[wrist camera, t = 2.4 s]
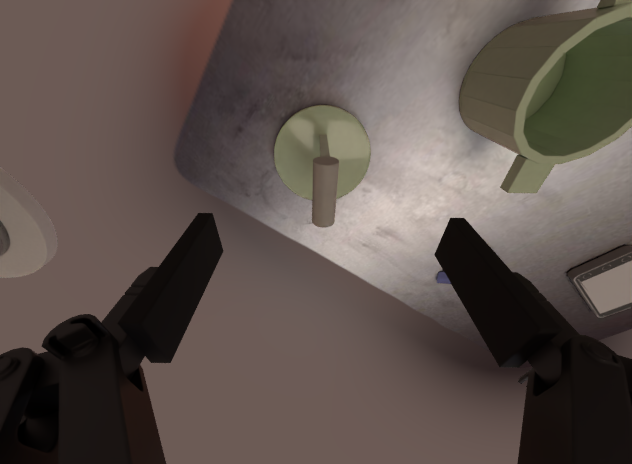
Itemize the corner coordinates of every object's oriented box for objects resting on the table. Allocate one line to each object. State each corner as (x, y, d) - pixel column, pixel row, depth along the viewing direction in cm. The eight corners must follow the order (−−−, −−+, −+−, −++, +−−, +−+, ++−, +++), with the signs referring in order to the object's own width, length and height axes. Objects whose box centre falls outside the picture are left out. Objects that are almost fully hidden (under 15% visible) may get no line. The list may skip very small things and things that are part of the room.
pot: (436, 161, 25) (475, 196, 19) (502, -37, 16) (611, -88, 10) (516, 162, 25) (580, 198, 19) (622, -33, 16) (800, -82, 10)
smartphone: (638, 248, 30) (656, 298, 36) (629, 243, 31) (648, 292, 37) (572, 278, 34) (599, 318, 40) (565, 272, 34) (593, 313, 41)
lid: (278, 195, 27) (265, 248, 20) (271, 102, 21) (248, 127, 14) (361, 197, 27) (378, 249, 20) (376, 104, 21) (407, 131, 14)
